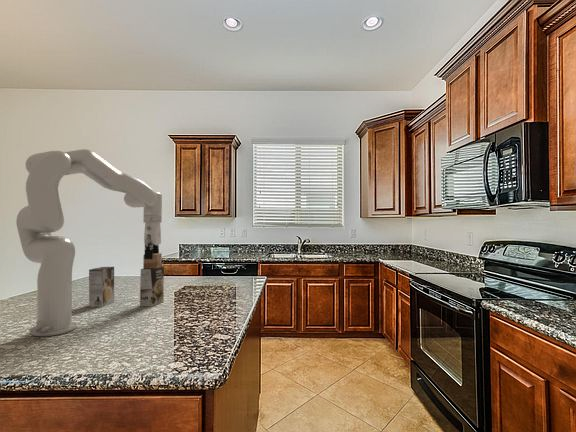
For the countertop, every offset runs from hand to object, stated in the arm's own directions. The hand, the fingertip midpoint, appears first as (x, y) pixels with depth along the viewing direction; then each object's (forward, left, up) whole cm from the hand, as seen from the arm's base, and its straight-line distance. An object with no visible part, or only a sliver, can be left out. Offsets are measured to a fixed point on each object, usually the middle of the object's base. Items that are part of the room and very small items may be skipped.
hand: (151, 258), depth 148 cm
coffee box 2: (0, 0, -21) cm, 21 cm away
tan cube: (0, 0, -4) cm, 4 cm away
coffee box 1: (+2, +22, -21) cm, 30 cm away
